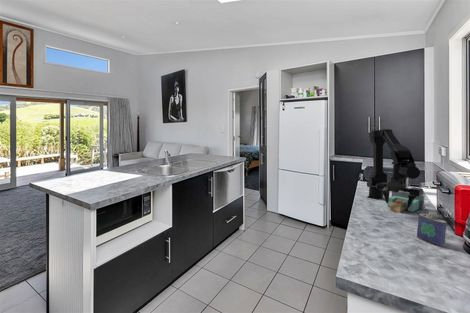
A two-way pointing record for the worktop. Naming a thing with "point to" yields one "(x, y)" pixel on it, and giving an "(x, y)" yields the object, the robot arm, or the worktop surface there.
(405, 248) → the worktop surface
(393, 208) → the oak peg
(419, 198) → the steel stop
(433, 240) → the flask
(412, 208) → the slot block
